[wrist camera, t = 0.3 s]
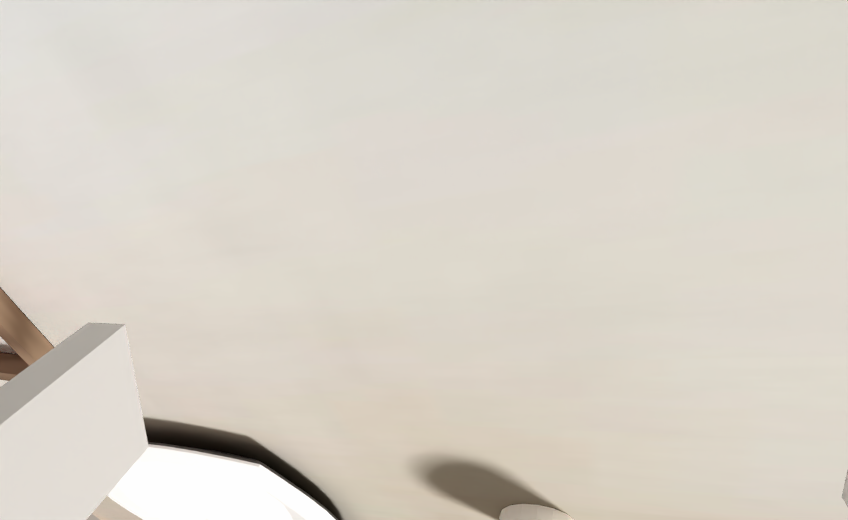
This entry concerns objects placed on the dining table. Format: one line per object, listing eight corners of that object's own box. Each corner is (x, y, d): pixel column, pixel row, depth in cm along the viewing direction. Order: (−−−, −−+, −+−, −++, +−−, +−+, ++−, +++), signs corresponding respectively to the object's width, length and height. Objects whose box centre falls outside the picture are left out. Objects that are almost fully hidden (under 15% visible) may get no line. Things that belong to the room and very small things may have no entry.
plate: (392, 555, 65) (387, 577, 64) (189, 531, 73) (181, 550, 72) (281, 427, 49) (271, 453, 48) (39, 416, 58) (25, 437, 56)
